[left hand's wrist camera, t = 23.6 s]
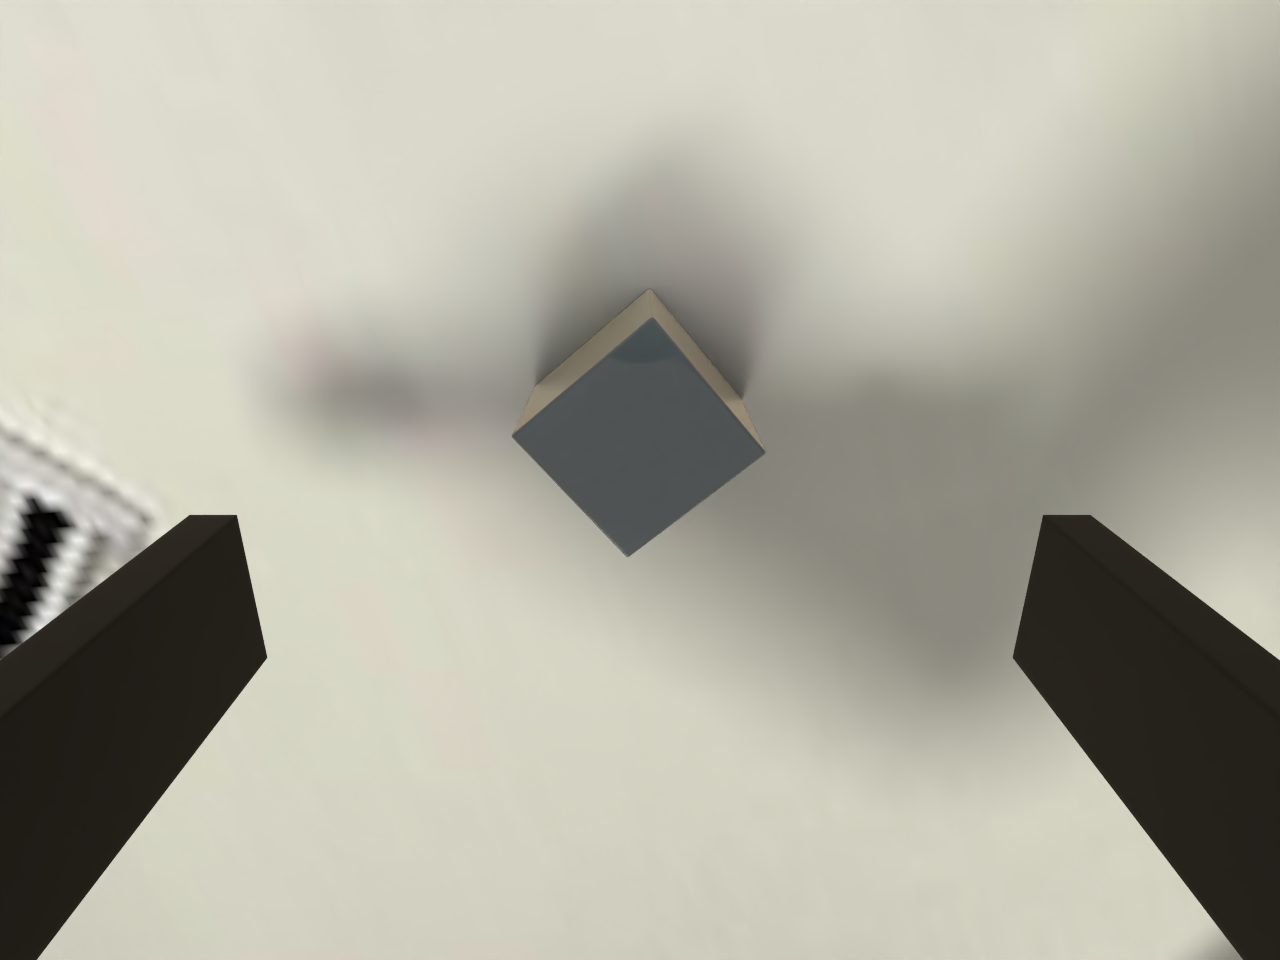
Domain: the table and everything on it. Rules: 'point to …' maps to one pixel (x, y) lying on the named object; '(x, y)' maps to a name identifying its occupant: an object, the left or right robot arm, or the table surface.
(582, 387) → the brick
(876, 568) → the table surface
